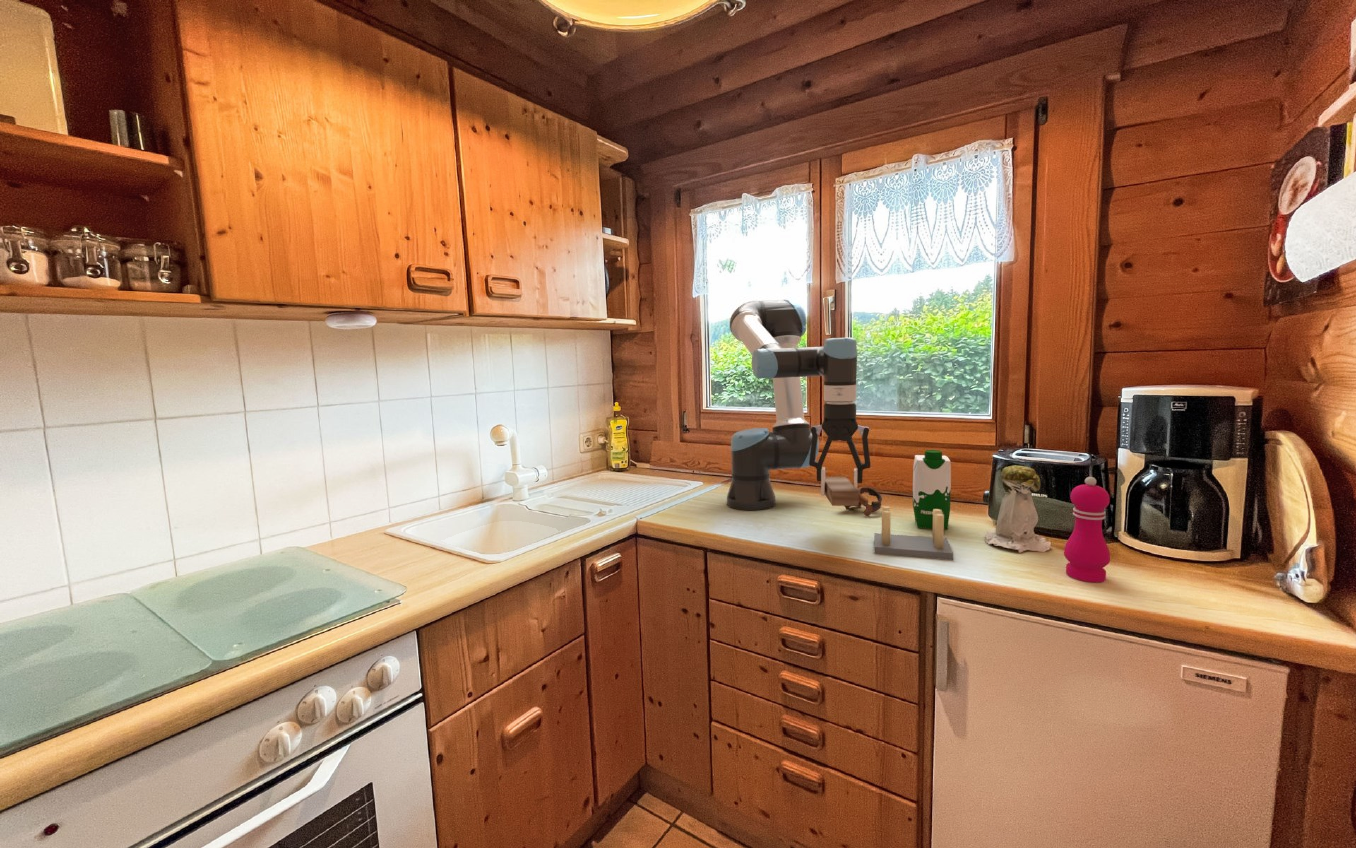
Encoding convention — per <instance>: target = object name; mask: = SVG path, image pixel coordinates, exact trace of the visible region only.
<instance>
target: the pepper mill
mask: <svg viewBox="0 0 1356 848" xmlns="http://www.w3.org/2000/svg"><path fill="white" fill-rule="evenodd" d="M1084 483H1085V484H1080V485H1079V484H1078V485H1076V486H1075V487H1073V489H1072V491H1071V492H1070V496H1069V497H1070V501H1071V504H1073V505H1074V507H1073V508H1072V510H1073V512H1072V515H1073V516H1074V521H1075V522H1074V526H1073V527H1074V529H1073V531H1072V532H1071V535H1070V536H1069V538H1068V539H1067V541H1066V543H1065V546H1064V549H1063V550H1064V551H1063V556H1064V557H1065V558H1066V560H1067V561H1068V563H1066V564H1065V574H1066V575H1068V577H1069V578H1072V579H1075V580H1077V581H1082V582H1086V583H1103V582H1105V581H1106V579H1107V571H1106V569H1105V567H1107V566H1108V565H1109V564H1110V562H1111V553H1110V549H1109V547H1108V544H1107V541H1106V540H1105V537H1104V534H1103V520H1105V519H1106V511H1105V509H1106V508H1107V507H1108V506H1110V505H1109V504H1110V502H1111V501H1110V494H1109V493H1108V491H1107V490H1106V488H1103V487H1101V486H1100V485H1097V479H1096V478H1095V477H1093V476H1088V477H1086V478H1085V479H1084Z"/></svg>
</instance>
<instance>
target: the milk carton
mask: <svg viewBox="0 0 1356 848" xmlns="http://www.w3.org/2000/svg"><path fill="white" fill-rule="evenodd" d="M912 470H913V472H912V474H913V475H912V507H913V509H912V510H913V514H914V521H915V524H916V527H917V529H931V530H933V509H940V510H942V514H943V515H944V529H945V530H946V531H948V529H949V521H950V516H951V515H950V514H951V494H952V493H951V490H952V489H951V488H952V486H951V485H952V484H951V483H952V474H951V473H952V472H951V471H952V463H951V460H950V458H949V457H948V456H947V455H943V451H941V450H937V449H926V450H924V455H923V454H921V455H920V454H915V455H914V460H913V467H912Z"/></svg>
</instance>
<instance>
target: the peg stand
mask: <svg viewBox="0 0 1356 848" xmlns="http://www.w3.org/2000/svg"><path fill="white" fill-rule="evenodd" d="M891 516H892V515H891V506H885V505H884V506H883V505H882V506H881V533H877V532H876V533H875V532H874V534H873V535H874V538H873V539H874V554H876V555H877V554H879V555H890V556H892V555H893V556H901V557H902V556H903V557H911V558H912V557H914V558H926V559H928V558H929V559H938V560H949V561H950V560H951V561H953V560H954V553H953V550H952V547H951V544H950V542H949V539H948V538H947V537H946V538H945V537H944V532H945V531H944V515H943V514H942V510H940V509H933V529H932V537H931V536H922V535H921V536H919V535H908V534H906V535H903V534H891Z"/></svg>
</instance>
